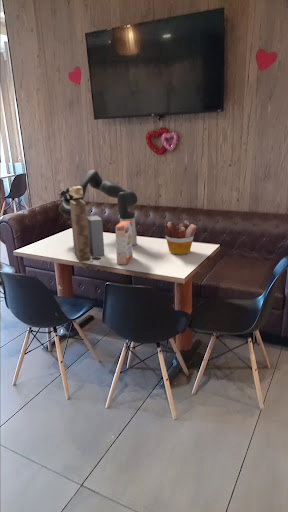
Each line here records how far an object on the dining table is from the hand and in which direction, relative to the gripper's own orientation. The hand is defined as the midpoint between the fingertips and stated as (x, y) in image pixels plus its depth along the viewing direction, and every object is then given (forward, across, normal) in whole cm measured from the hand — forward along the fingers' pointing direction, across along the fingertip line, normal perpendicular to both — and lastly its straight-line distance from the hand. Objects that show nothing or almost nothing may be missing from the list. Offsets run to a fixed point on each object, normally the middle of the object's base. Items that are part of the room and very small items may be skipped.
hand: (72, 188), depth 205 cm
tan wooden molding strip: (+4, 0, -6) cm, 7 cm away
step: (-11, -9, -37) cm, 40 cm away
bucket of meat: (+5, -53, -47) cm, 71 cm away
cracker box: (+5, -20, -47) cm, 51 cm away
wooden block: (-9, 0, -38) cm, 39 cm away
